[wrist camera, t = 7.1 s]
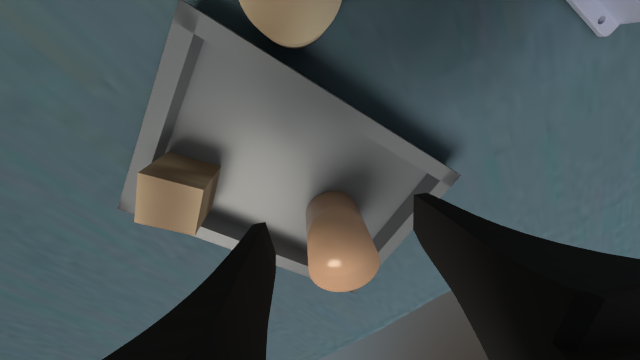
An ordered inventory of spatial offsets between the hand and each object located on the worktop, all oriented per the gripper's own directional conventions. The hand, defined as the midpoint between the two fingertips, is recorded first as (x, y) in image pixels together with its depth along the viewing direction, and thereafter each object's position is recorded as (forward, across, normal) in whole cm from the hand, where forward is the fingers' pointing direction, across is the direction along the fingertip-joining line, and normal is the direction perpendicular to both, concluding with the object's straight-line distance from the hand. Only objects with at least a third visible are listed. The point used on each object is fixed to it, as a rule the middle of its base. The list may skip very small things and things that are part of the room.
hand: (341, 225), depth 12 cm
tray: (+10, +3, +2) cm, 10 cm away
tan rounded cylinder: (+9, 0, +6) cm, 11 cm away
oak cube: (+9, +11, 0) cm, 15 cm away
